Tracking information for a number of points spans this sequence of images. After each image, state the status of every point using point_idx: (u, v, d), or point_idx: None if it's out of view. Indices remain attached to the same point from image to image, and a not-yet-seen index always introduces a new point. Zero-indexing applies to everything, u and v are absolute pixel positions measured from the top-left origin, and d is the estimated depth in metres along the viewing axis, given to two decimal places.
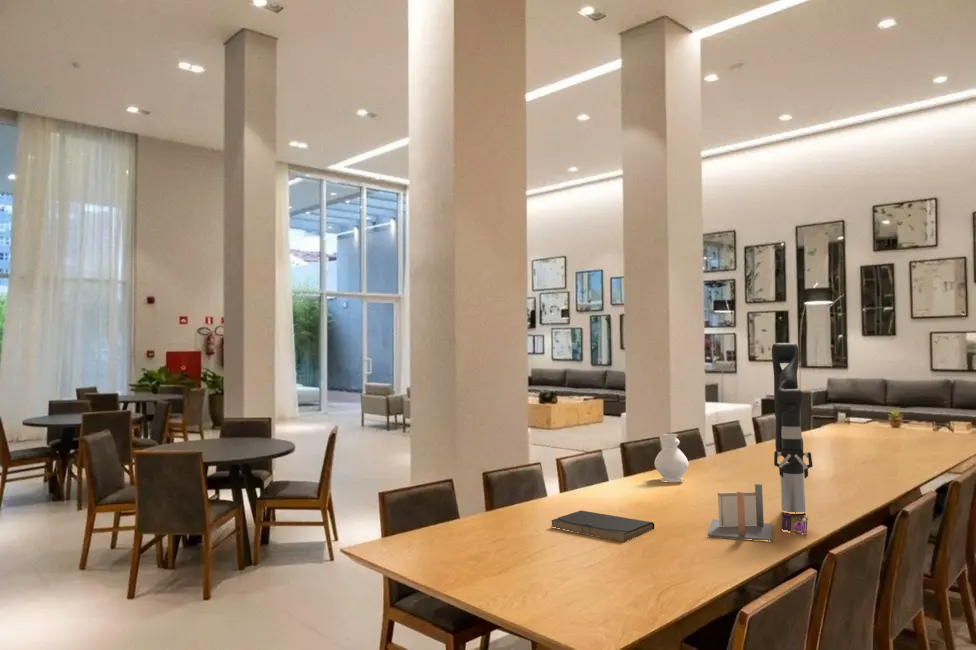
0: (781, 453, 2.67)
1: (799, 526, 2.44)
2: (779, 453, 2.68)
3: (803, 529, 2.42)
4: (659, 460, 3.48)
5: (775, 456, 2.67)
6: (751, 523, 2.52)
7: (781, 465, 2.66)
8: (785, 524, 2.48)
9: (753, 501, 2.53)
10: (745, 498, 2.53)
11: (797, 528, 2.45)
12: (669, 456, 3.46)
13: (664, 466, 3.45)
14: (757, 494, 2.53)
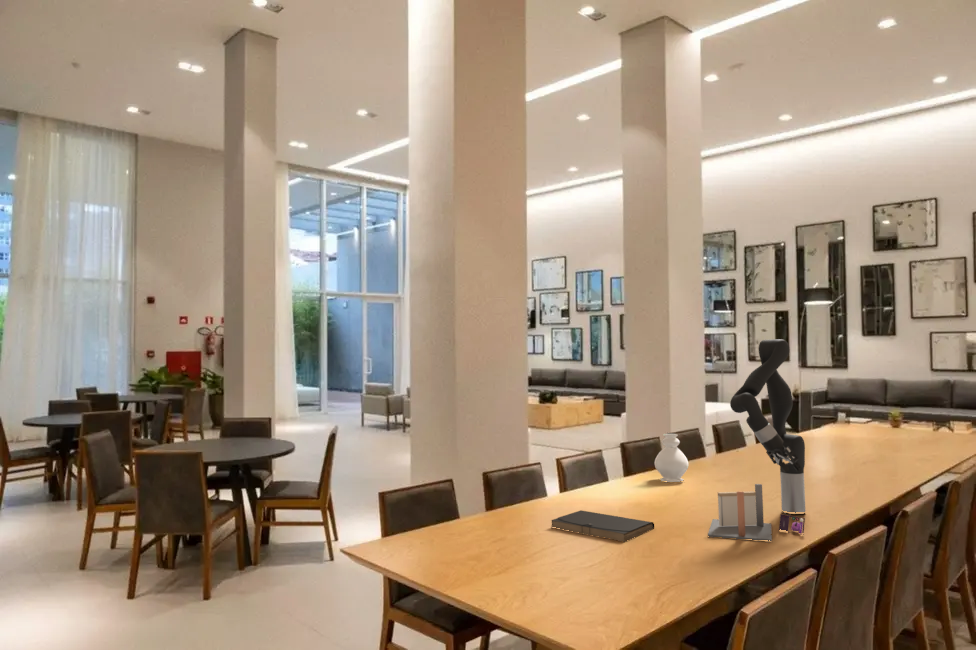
0: (771, 452, 2.62)
1: (796, 526, 2.44)
2: (770, 452, 2.62)
3: (800, 529, 2.42)
4: (659, 460, 3.48)
5: (769, 455, 2.64)
6: (751, 523, 2.52)
7: (777, 462, 2.61)
8: (782, 524, 2.48)
9: (753, 501, 2.53)
10: (745, 498, 2.53)
11: (794, 528, 2.45)
12: (669, 456, 3.46)
13: (664, 466, 3.45)
14: (757, 494, 2.53)
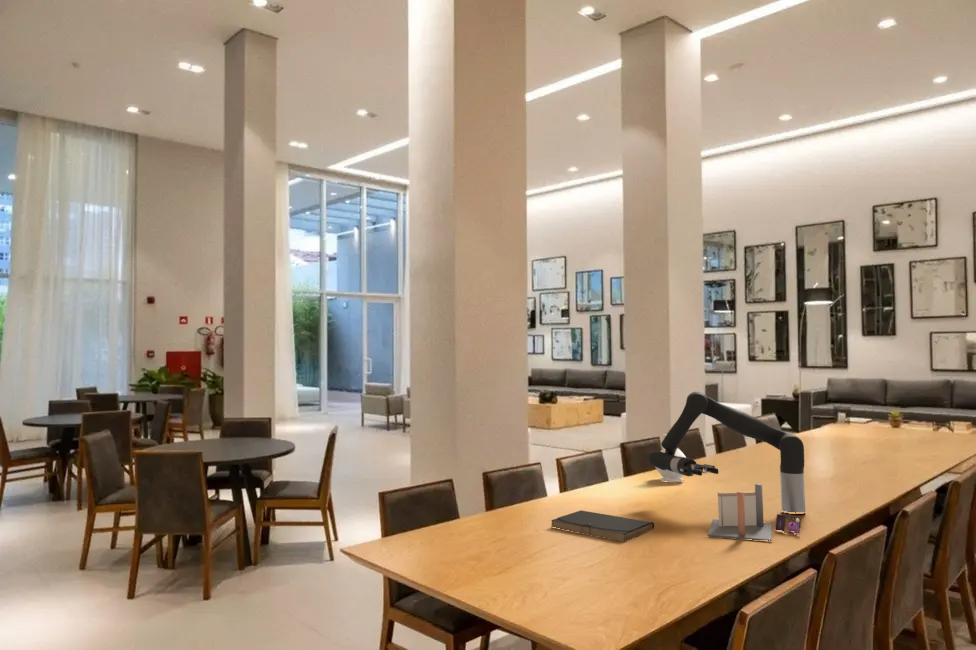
0: None
1: (792, 526, 2.44)
2: None
3: (796, 529, 2.42)
4: None
5: None
6: (751, 523, 2.52)
7: None
8: (778, 524, 2.48)
9: (753, 501, 2.53)
10: (745, 498, 2.53)
11: (790, 528, 2.45)
12: None
13: None
14: (757, 494, 2.53)
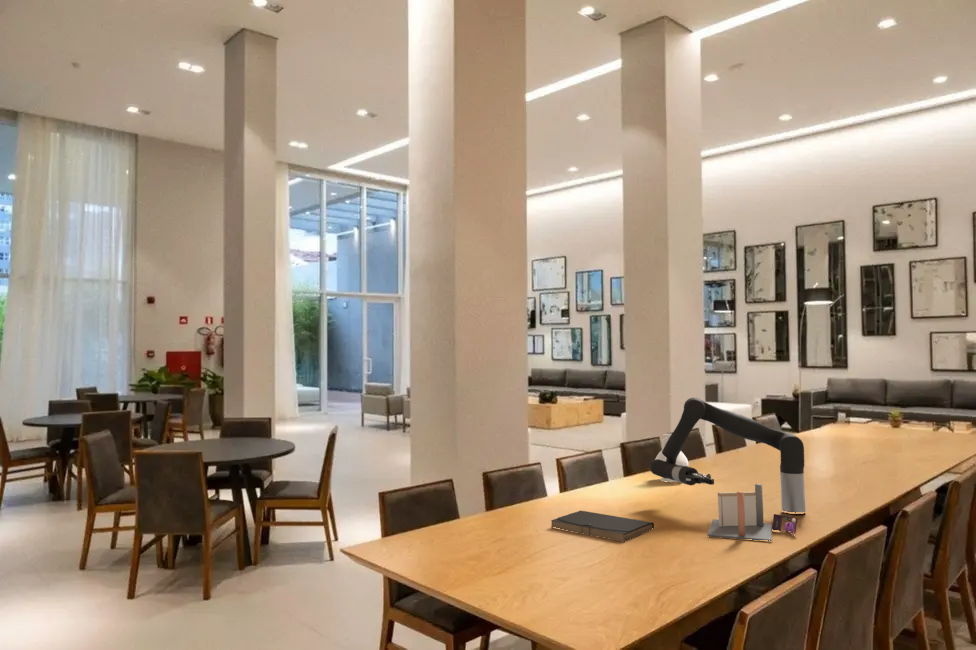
0: None
1: (789, 526, 2.44)
2: None
3: (792, 529, 2.42)
4: None
5: None
6: (751, 523, 2.52)
7: None
8: (775, 524, 2.48)
9: (753, 501, 2.53)
10: (745, 498, 2.53)
11: (787, 528, 2.45)
12: None
13: None
14: (757, 494, 2.53)
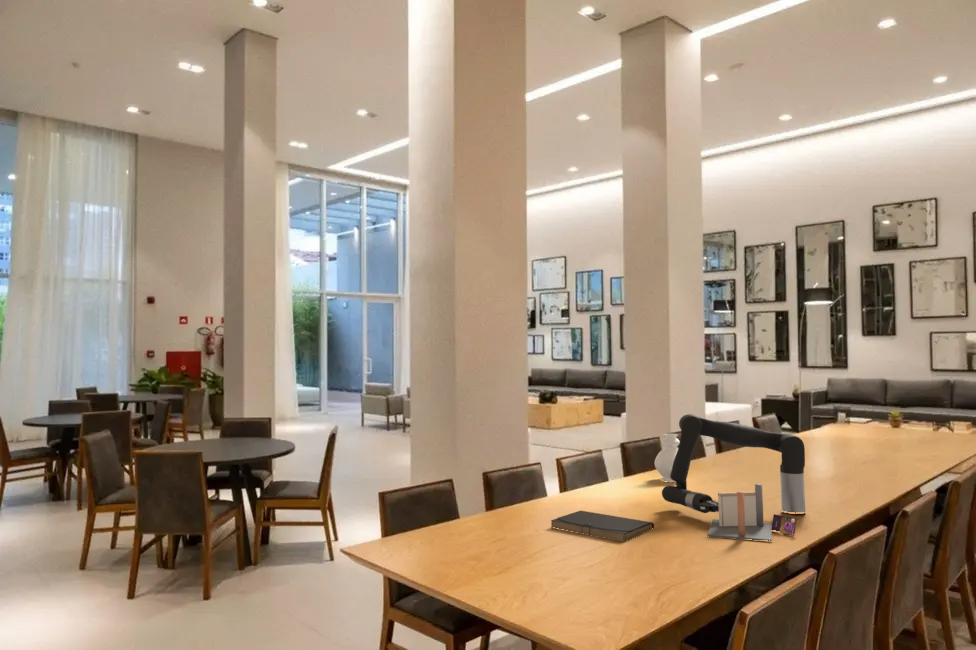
0: None
1: (788, 526, 2.44)
2: None
3: (791, 529, 2.42)
4: (659, 460, 3.48)
5: None
6: (751, 523, 2.52)
7: None
8: (775, 524, 2.48)
9: (753, 501, 2.53)
10: (745, 498, 2.53)
11: (786, 528, 2.44)
12: (669, 456, 3.46)
13: (664, 466, 3.45)
14: (757, 494, 2.53)
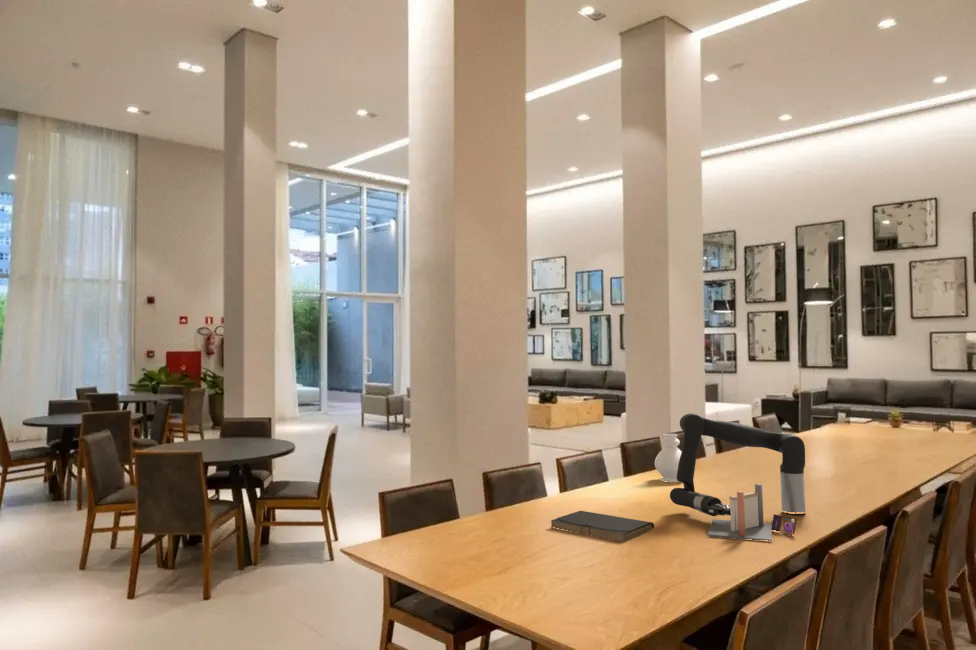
0: None
1: (788, 527, 2.44)
2: None
3: (791, 530, 2.42)
4: (659, 460, 3.48)
5: None
6: (755, 524, 2.51)
7: None
8: (775, 525, 2.48)
9: (756, 502, 2.52)
10: (751, 499, 2.50)
11: (786, 529, 2.44)
12: (669, 456, 3.46)
13: (664, 466, 3.45)
14: None
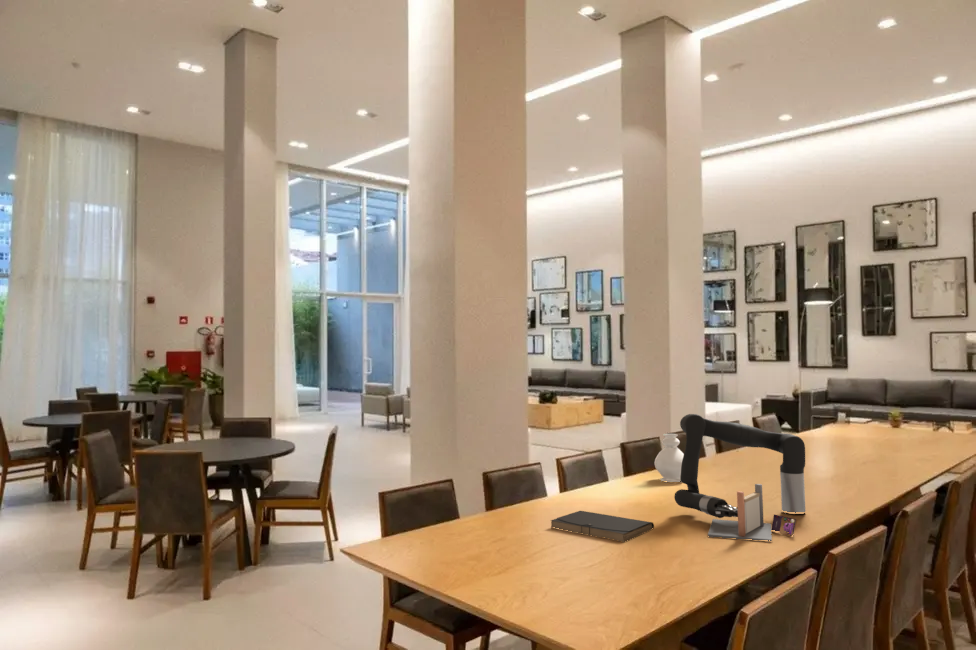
0: None
1: (787, 527, 2.43)
2: None
3: (790, 530, 2.41)
4: (659, 460, 3.48)
5: None
6: (758, 524, 2.50)
7: None
8: (775, 525, 2.48)
9: (758, 502, 2.51)
10: (755, 500, 2.49)
11: (786, 529, 2.44)
12: (669, 456, 3.46)
13: (664, 466, 3.45)
14: None
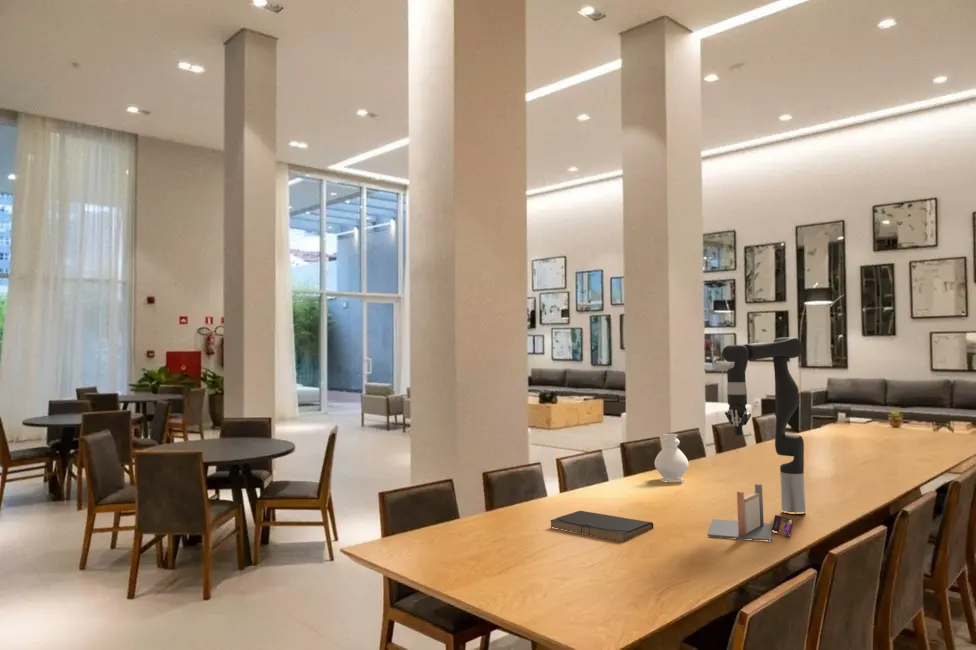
0: (729, 410, 2.70)
1: (785, 528, 2.42)
2: (729, 411, 2.70)
3: (787, 531, 2.41)
4: (659, 460, 3.48)
5: (727, 416, 2.70)
6: (758, 524, 2.50)
7: (734, 423, 2.66)
8: (775, 525, 2.47)
9: (758, 502, 2.51)
10: (755, 500, 2.49)
11: (784, 529, 2.43)
12: (669, 456, 3.46)
13: (664, 466, 3.45)
14: None
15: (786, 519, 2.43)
